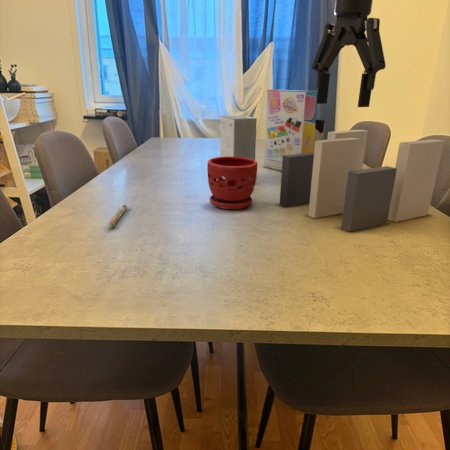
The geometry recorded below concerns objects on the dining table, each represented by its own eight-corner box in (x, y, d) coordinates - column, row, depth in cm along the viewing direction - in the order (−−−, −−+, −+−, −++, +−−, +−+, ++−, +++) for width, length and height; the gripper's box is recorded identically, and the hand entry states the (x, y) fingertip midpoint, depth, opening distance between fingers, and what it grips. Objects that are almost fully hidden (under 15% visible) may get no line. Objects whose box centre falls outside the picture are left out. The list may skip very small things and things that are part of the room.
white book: (350, 211, 113) (360, 138, 105) (314, 218, 108) (322, 142, 99) (343, 209, 115) (352, 137, 107) (308, 215, 110) (315, 140, 101)
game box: (311, 174, 155) (319, 90, 143) (300, 176, 152) (307, 90, 140) (274, 165, 170) (278, 89, 158) (263, 166, 168) (266, 89, 155)
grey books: (386, 223, 104) (397, 168, 98) (350, 231, 98) (358, 173, 92) (313, 199, 124) (317, 151, 118) (279, 204, 119) (282, 155, 113)
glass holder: (298, 158, 185) (301, 120, 178) (312, 154, 196) (315, 118, 189) (317, 160, 181) (321, 121, 174) (330, 155, 191) (334, 119, 184)
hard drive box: (255, 184, 141) (257, 118, 132) (232, 185, 139) (233, 119, 130) (240, 174, 154) (241, 114, 145) (219, 176, 152) (219, 114, 143)
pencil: (112, 230, 98) (127, 208, 114) (111, 226, 98) (127, 204, 114) (106, 230, 98) (122, 208, 114) (105, 226, 98) (122, 204, 114)
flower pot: (200, 209, 115) (199, 162, 109) (218, 197, 125) (218, 154, 120) (246, 214, 110) (247, 166, 105) (261, 202, 121) (263, 157, 116)
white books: (427, 215, 110) (444, 140, 102) (395, 222, 105) (410, 144, 97) (351, 192, 131) (360, 129, 123) (321, 197, 126) (328, 131, 117)
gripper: (302, -1, 97) (294, 102, 107) (389, -19, 78) (370, 109, 88) (327, 2, 101) (317, 102, 111) (417, -15, 82) (395, 108, 92)
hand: (341, 105), depth 99 cm, fingers open, 13 cm apart
